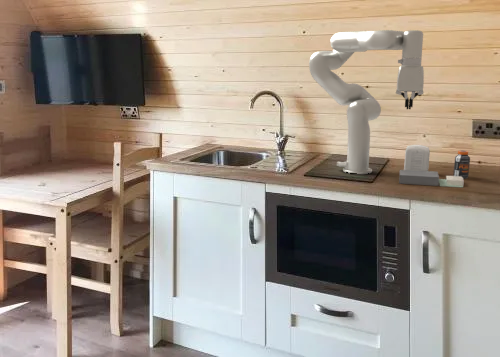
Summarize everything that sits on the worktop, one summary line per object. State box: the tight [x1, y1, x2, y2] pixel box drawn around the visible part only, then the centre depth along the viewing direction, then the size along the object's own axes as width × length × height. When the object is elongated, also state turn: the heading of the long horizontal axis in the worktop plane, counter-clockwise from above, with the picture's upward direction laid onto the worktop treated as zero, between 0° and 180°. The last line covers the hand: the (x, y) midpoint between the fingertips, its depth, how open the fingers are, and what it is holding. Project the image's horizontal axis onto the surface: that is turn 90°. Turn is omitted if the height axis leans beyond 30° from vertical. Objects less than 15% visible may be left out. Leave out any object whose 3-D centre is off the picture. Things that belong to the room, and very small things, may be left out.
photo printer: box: [403, 144, 431, 171], centre depth 232 cm, size 10×4×12 cm, turn 67°
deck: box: [398, 169, 440, 187], centre depth 216 cm, size 15×11×4 cm
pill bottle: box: [452, 149, 471, 180], centre depth 223 cm, size 6×6×11 cm
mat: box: [438, 178, 464, 188], centre depth 213 cm, size 8×12×1 cm
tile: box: [445, 175, 465, 187], centre depth 212 cm, size 6×8×2 cm
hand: (408, 109), depth 214 cm, fingers closed
